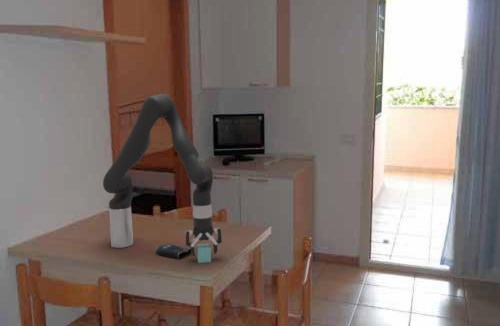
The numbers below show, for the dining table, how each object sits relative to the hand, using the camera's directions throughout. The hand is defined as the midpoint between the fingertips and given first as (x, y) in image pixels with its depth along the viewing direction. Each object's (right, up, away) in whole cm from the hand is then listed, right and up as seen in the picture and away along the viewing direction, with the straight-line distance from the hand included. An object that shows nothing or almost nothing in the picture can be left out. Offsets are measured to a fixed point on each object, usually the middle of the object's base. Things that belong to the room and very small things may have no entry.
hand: (204, 254), depth 199 cm
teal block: (0, -3, +1) cm, 3 cm away
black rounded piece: (-14, -2, +9) cm, 17 cm away
